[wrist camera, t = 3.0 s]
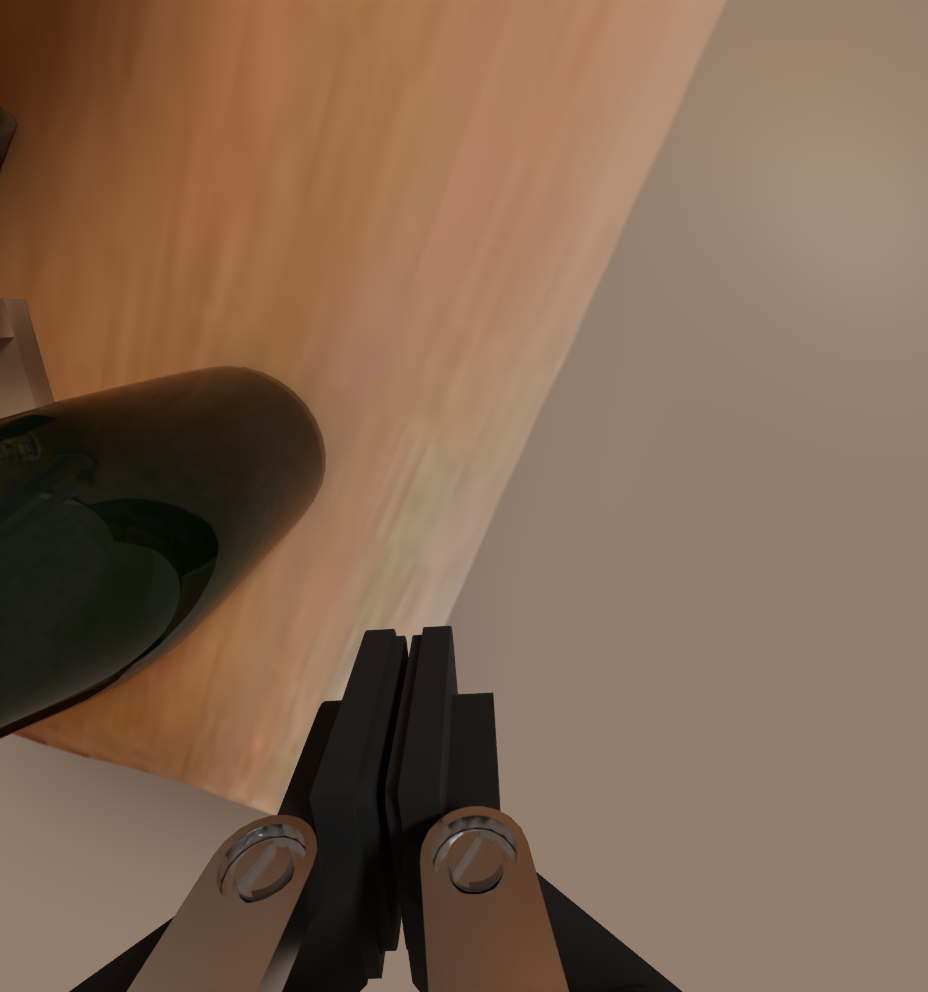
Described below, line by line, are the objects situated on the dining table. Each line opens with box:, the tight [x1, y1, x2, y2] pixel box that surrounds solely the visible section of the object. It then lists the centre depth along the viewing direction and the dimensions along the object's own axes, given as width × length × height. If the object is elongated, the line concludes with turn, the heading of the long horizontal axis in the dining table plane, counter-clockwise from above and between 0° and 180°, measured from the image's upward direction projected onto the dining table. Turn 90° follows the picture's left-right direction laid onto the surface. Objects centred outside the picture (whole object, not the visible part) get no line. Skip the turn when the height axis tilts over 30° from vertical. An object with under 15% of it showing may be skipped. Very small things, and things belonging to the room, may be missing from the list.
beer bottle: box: [0, 366, 326, 739], centre depth 19 cm, size 10×10×33 cm
